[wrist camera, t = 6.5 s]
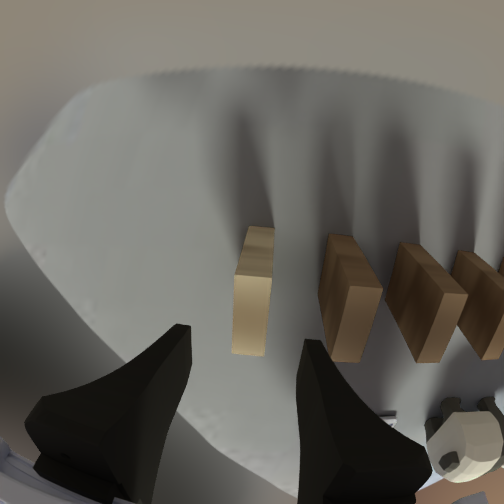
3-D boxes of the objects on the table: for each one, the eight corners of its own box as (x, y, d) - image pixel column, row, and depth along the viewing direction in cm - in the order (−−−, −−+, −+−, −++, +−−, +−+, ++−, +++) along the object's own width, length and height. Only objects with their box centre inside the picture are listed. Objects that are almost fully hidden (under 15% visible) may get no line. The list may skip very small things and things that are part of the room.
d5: (339, 296, 22) (359, 362, 15) (317, 293, 22) (329, 361, 15) (352, 236, 20) (383, 288, 14) (328, 233, 20) (349, 285, 14)
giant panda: (412, 428, 27) (433, 500, 18) (440, 393, 25) (471, 469, 16) (494, 424, 27) (519, 478, 18) (520, 394, 25) (551, 448, 16)
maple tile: (268, 289, 22) (263, 356, 15) (245, 287, 22) (231, 353, 16) (274, 228, 20) (271, 278, 14) (249, 225, 20) (234, 274, 14)
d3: (456, 304, 21) (498, 358, 15) (440, 303, 21) (481, 360, 15) (474, 252, 20) (526, 298, 13) (458, 250, 20) (510, 297, 13)
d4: (403, 301, 21) (439, 362, 15) (384, 299, 22) (416, 363, 15) (419, 244, 20) (468, 294, 13) (399, 242, 20) (444, 292, 13)
